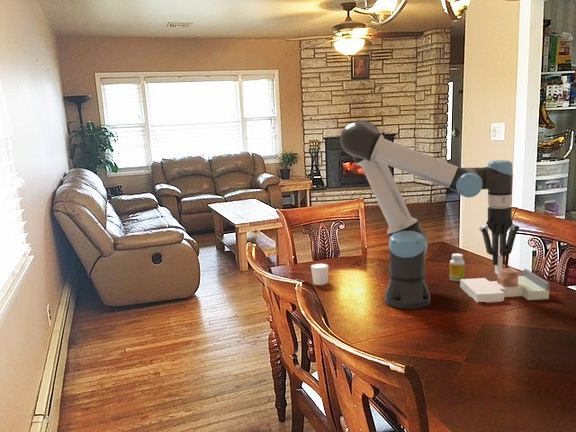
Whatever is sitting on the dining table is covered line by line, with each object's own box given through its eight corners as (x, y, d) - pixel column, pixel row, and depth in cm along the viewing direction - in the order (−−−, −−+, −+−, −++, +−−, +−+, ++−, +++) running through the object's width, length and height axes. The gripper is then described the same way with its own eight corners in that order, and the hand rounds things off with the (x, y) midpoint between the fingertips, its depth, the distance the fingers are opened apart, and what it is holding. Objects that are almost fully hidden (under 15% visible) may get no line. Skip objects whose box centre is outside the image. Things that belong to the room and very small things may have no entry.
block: (503, 287, 171) (503, 273, 170) (497, 282, 176) (497, 268, 175) (517, 286, 171) (518, 272, 170) (511, 281, 176) (511, 268, 175)
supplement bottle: (461, 282, 187) (462, 257, 185) (447, 280, 190) (447, 255, 189) (466, 278, 191) (466, 253, 190) (452, 276, 195) (452, 252, 193)
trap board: (477, 303, 166) (477, 287, 165) (460, 287, 182) (460, 272, 181) (548, 298, 166) (549, 283, 165) (525, 283, 182) (526, 268, 181)
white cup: (329, 279, 199) (328, 262, 197) (329, 285, 192) (328, 267, 191) (312, 280, 199) (311, 263, 198) (311, 285, 193) (310, 268, 191)
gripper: (484, 209, 165) (484, 278, 169) (524, 207, 165) (522, 275, 169) (476, 205, 172) (475, 271, 176) (513, 203, 172) (512, 269, 176)
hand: (498, 273), depth 173 cm, fingers closed
